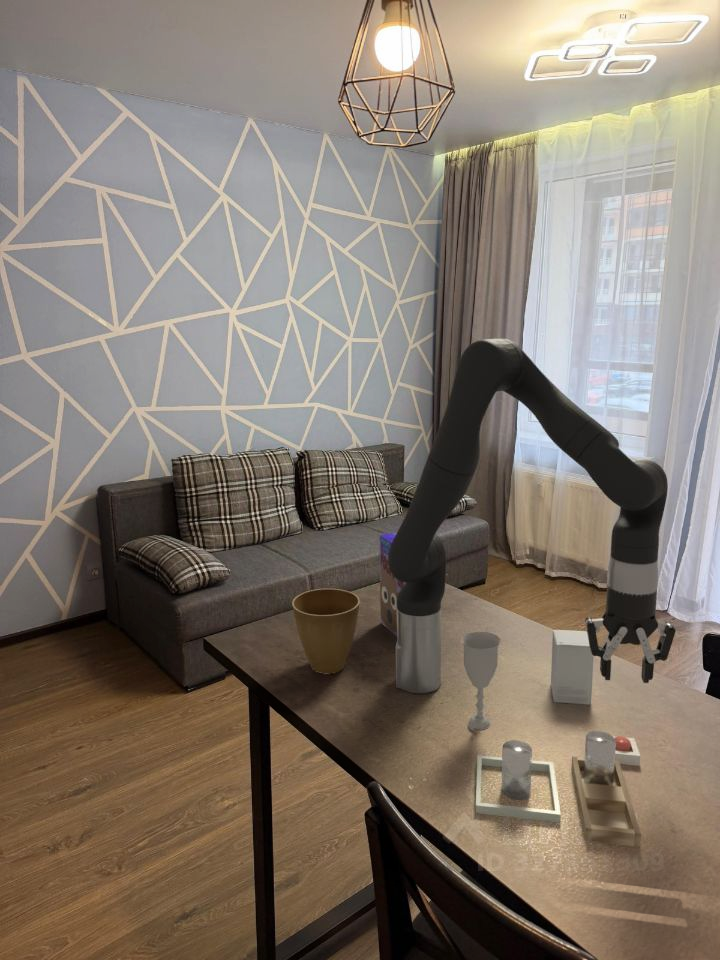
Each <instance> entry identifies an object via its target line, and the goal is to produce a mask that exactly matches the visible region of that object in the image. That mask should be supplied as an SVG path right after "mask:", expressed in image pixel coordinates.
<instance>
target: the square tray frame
mask: <svg viewBox="0 0 720 960" xmlns="http://www.w3.org/2000/svg"><path fill="white" fill-rule="evenodd" d="M476 762H477V763H476V789H475V790H476V791H475V793H476V794H475V795H476V796H475V814H481V815H487V816H488V815H491V816H500V817H507V818H516V819H525V820H527V819H528V820H533V821H544V822H552V823H553V822H554V823H561V821H562V819H561V818H562V817H561V815H562V814H561V808H560V801H559V799H560V798H559V794H558V793H559V792H558V785H557V780H556V773H555V766H554V765H555V764H554V762H553V761H542V760H533V759H532V765H531V771H537V772H545V773H546V772H547V773H548V774H549V783H550V791H551V799H552V804H553V809H552V810H550V809H541V808H534V807H533V808H531V807H525V806H524V807H523V806H513V805H504V804H496V803H488V802H487V803H486V802H482V801H481V800H482V797H481V796H482V766H487V767H496V768H502V756H501V757H500V756H490V755H479V754H477V761H476Z"/></svg>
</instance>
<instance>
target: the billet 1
mask: <svg viewBox="0 0 720 960" xmlns="http://www.w3.org/2000/svg"><path fill="white" fill-rule="evenodd" d="M501 752H502V754H501V755H502V756H501V757H502V767H501V791H502V794H503V795H504V796H505V797H507V798H509V799H512V800H515V801H523V800H526V799H528V798H529V797H530V796H531V793H532V792H531V790H532V770H531V765H532V760H533V758H532V757H533V749H532V747H531V746H530V744H528V743H526V742H525V741H523V740H517V739H515V740H513V739H512V740H508V741H505V742H504V743H503V744H502V751H501Z"/></svg>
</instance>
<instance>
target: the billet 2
mask: <svg viewBox="0 0 720 960" xmlns="http://www.w3.org/2000/svg"><path fill="white" fill-rule="evenodd" d="M613 736H614V735H611V734H610V733H609V732H608V733H607V732H605V731H599V730H592V731H588V733H586V735H585V743H584V745H585V746H584V747H585V748H584V758H585V762H584V780H583V782H584V783H589V784H599V785H609V786H613V782H614V766H615V750H616V740H615V738H614V737H615V736H614V737H613Z"/></svg>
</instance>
